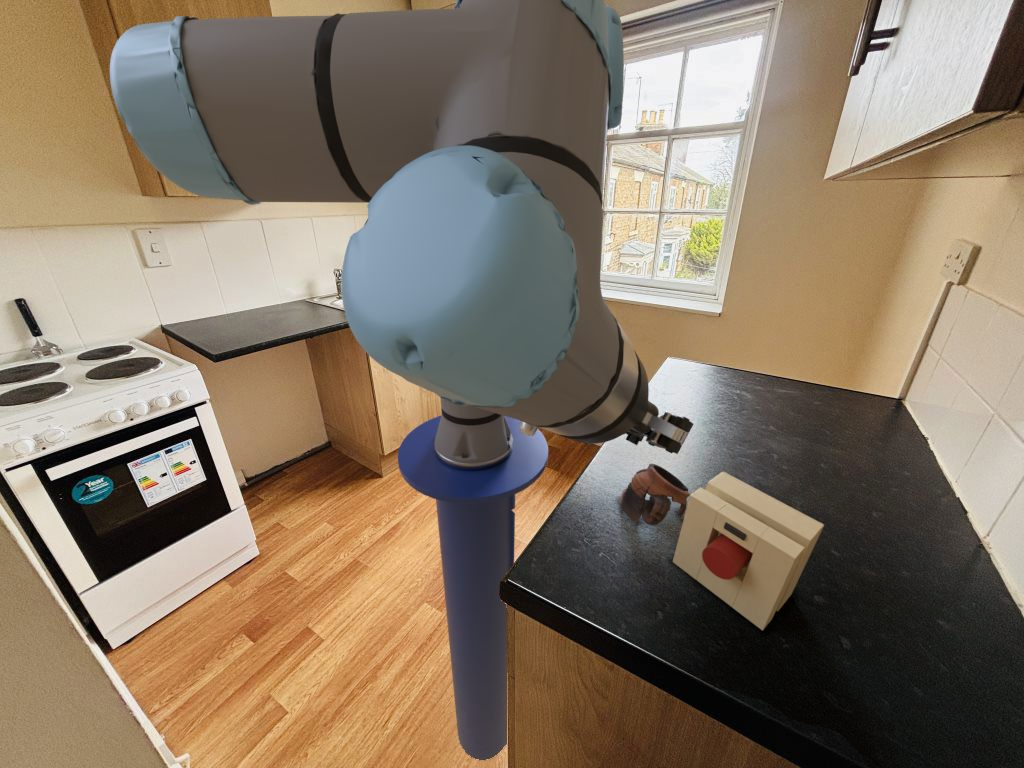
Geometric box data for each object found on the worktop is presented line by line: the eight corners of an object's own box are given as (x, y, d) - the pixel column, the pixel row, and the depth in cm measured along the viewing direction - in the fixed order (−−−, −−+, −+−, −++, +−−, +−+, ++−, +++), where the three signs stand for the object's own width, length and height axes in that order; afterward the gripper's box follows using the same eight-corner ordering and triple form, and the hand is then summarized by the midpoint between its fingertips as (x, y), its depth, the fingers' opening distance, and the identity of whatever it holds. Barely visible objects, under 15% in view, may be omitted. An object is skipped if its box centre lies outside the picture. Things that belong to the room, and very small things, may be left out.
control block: (671, 563, 56) (688, 495, 50) (703, 535, 60) (723, 471, 55) (761, 632, 47) (794, 560, 42) (791, 594, 52) (824, 524, 46)
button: (698, 563, 50) (705, 540, 48) (715, 548, 52) (723, 525, 50) (730, 586, 47) (739, 562, 45) (747, 569, 49) (756, 545, 47)
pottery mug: (613, 489, 70) (640, 451, 68) (660, 518, 69) (689, 482, 67) (619, 525, 58) (652, 482, 56) (676, 561, 58) (711, 518, 56)
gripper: (473, 387, 28) (576, 430, 49) (646, 487, 22) (681, 488, 42) (523, 292, 28) (605, 375, 49) (712, 364, 22) (715, 425, 42)
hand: (640, 428), depth 45 cm, fingers closed
